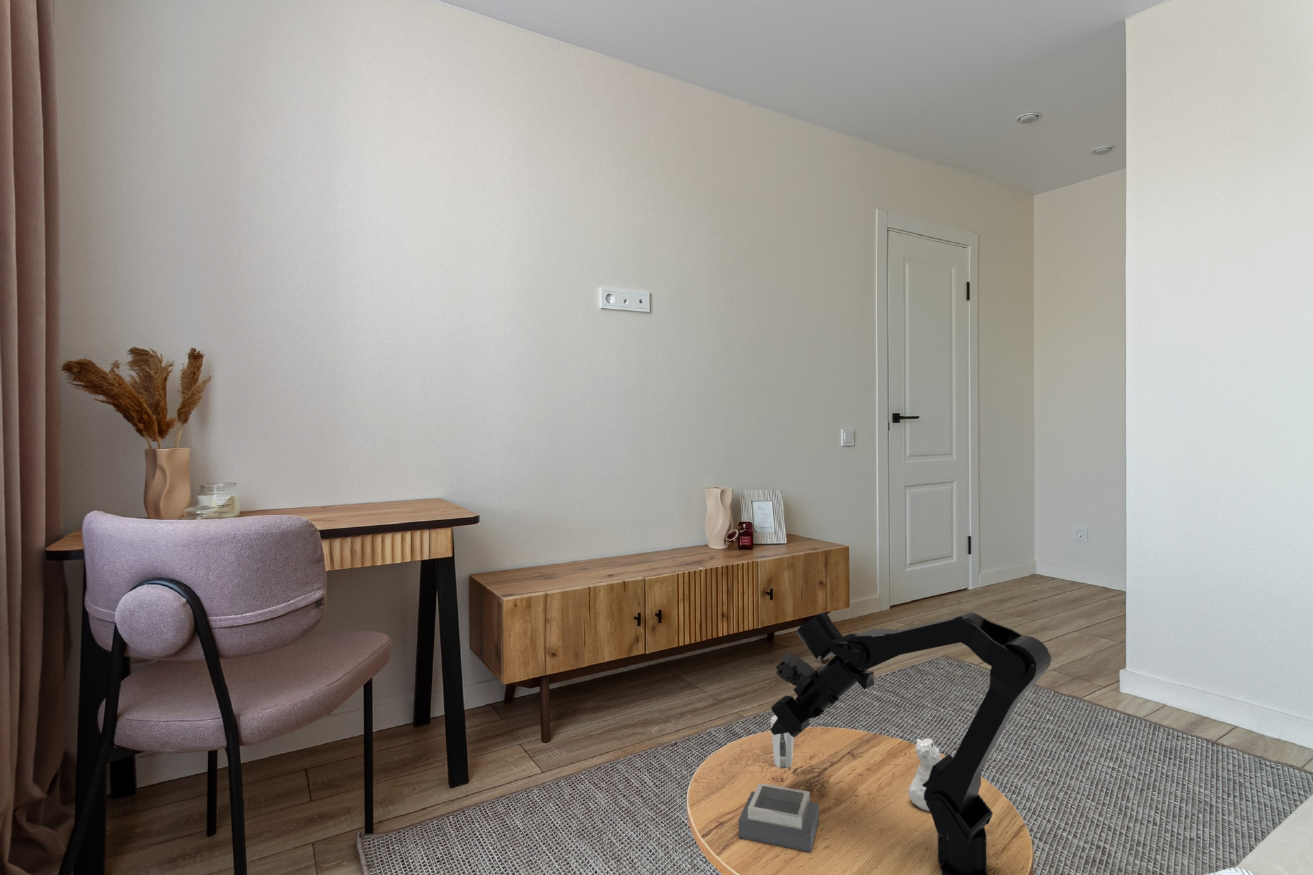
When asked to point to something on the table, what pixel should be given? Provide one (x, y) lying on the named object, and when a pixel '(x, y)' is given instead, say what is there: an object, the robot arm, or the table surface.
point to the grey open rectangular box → (780, 817)
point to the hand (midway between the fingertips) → (778, 727)
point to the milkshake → (782, 748)
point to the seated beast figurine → (923, 770)
